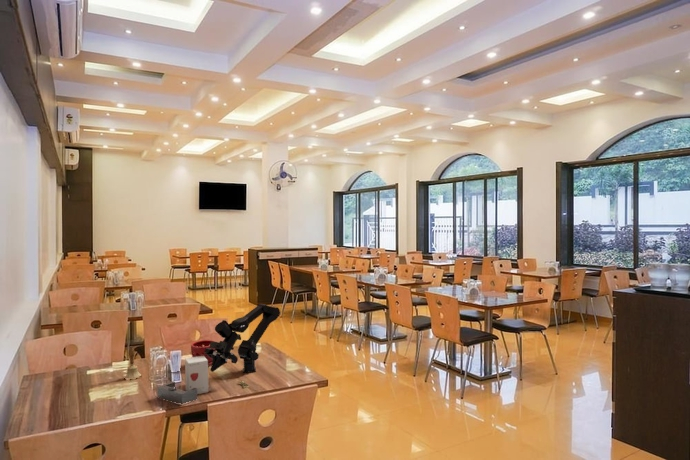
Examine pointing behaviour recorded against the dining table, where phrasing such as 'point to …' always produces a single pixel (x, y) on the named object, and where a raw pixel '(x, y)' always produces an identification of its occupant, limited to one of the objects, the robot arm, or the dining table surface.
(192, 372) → the supplement box
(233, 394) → the dining table surface
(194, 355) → the plant pot
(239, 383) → the brass key
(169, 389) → the coupler mouth
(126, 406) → the dining table surface
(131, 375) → the hand bell
